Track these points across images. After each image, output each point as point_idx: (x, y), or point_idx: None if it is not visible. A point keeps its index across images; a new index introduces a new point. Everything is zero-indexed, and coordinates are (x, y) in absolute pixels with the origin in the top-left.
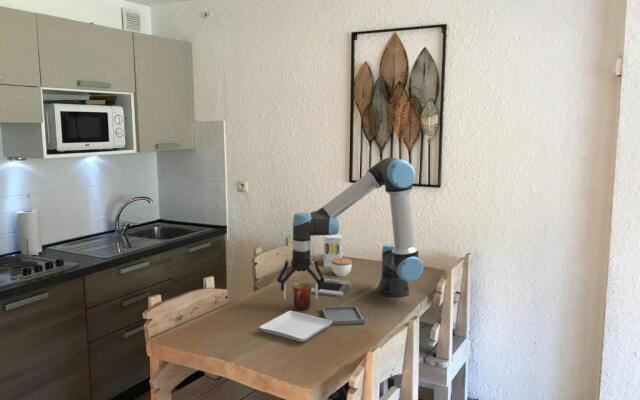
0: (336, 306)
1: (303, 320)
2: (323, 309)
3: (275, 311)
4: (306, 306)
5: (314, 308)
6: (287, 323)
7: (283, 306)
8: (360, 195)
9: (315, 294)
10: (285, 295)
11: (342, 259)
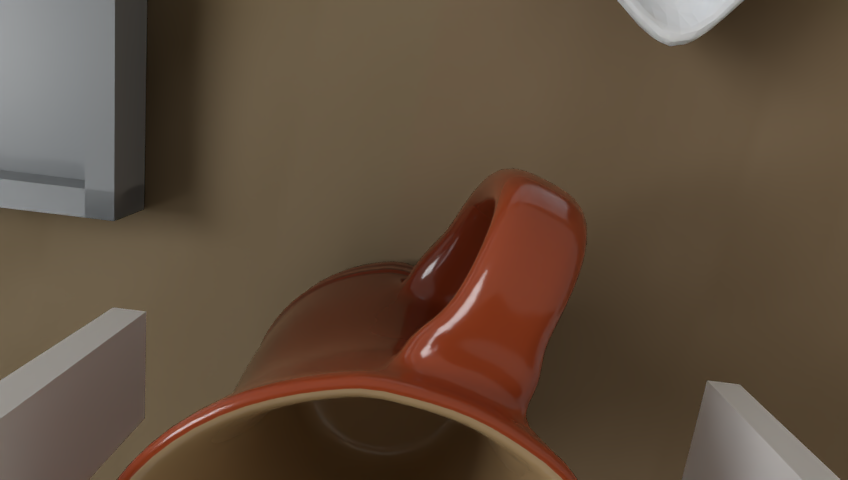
0: None
1: None
2: (101, 94)
3: (758, 328)
4: (342, 275)
5: (225, 321)
6: None
7: (606, 474)
8: None
9: (111, 379)
10: (747, 416)
11: None
